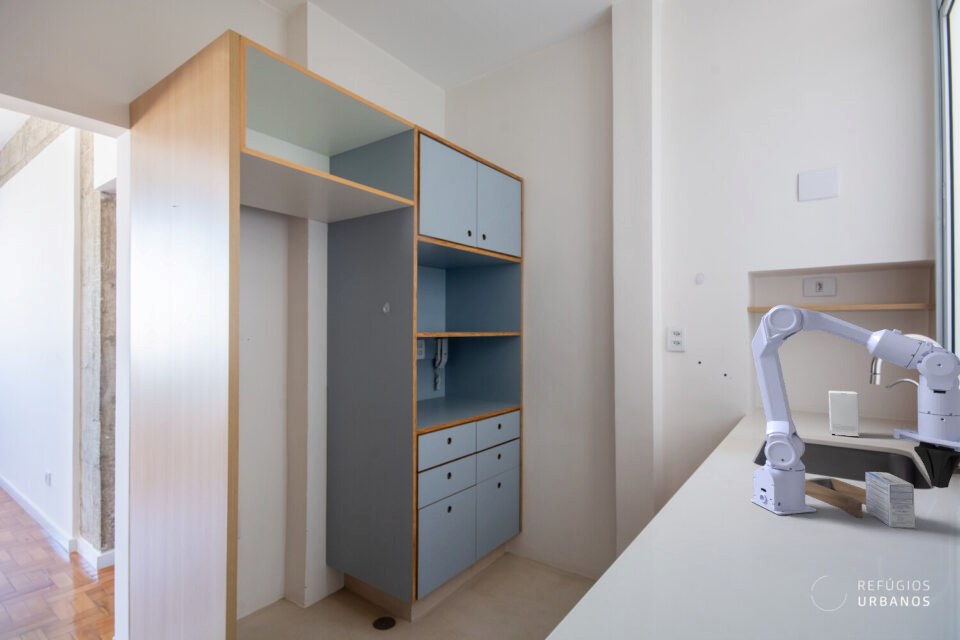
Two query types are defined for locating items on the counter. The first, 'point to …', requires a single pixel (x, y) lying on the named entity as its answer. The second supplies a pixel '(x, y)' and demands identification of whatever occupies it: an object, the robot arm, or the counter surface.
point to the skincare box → (843, 411)
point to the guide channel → (837, 494)
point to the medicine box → (890, 499)
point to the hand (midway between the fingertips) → (939, 486)
